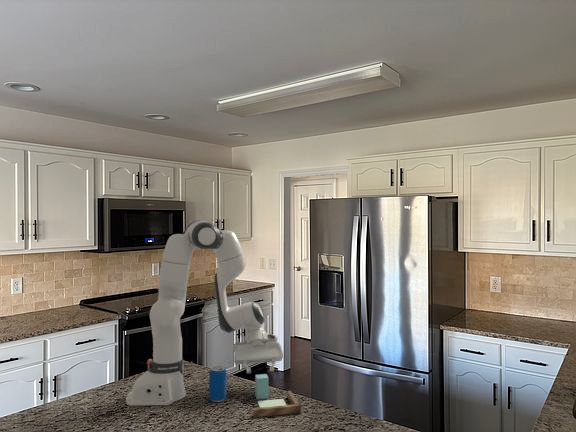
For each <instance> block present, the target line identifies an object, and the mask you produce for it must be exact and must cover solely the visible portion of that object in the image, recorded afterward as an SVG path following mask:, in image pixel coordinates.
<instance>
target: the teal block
mask: <svg viewBox="0 0 576 432" xmlns="http://www.w3.org/2000/svg"><path fill="white" fill-rule="evenodd" d="M269 379H270V378H269V376H268V374H267V373H263V374H262V373H261V374H255V378H254V385H255V387H254V395H255V397H256V400H269V398H270V397H269V396H270V395H269V393H270V391H269V387H270V386H269V384H270V383H269Z"/></svg>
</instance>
